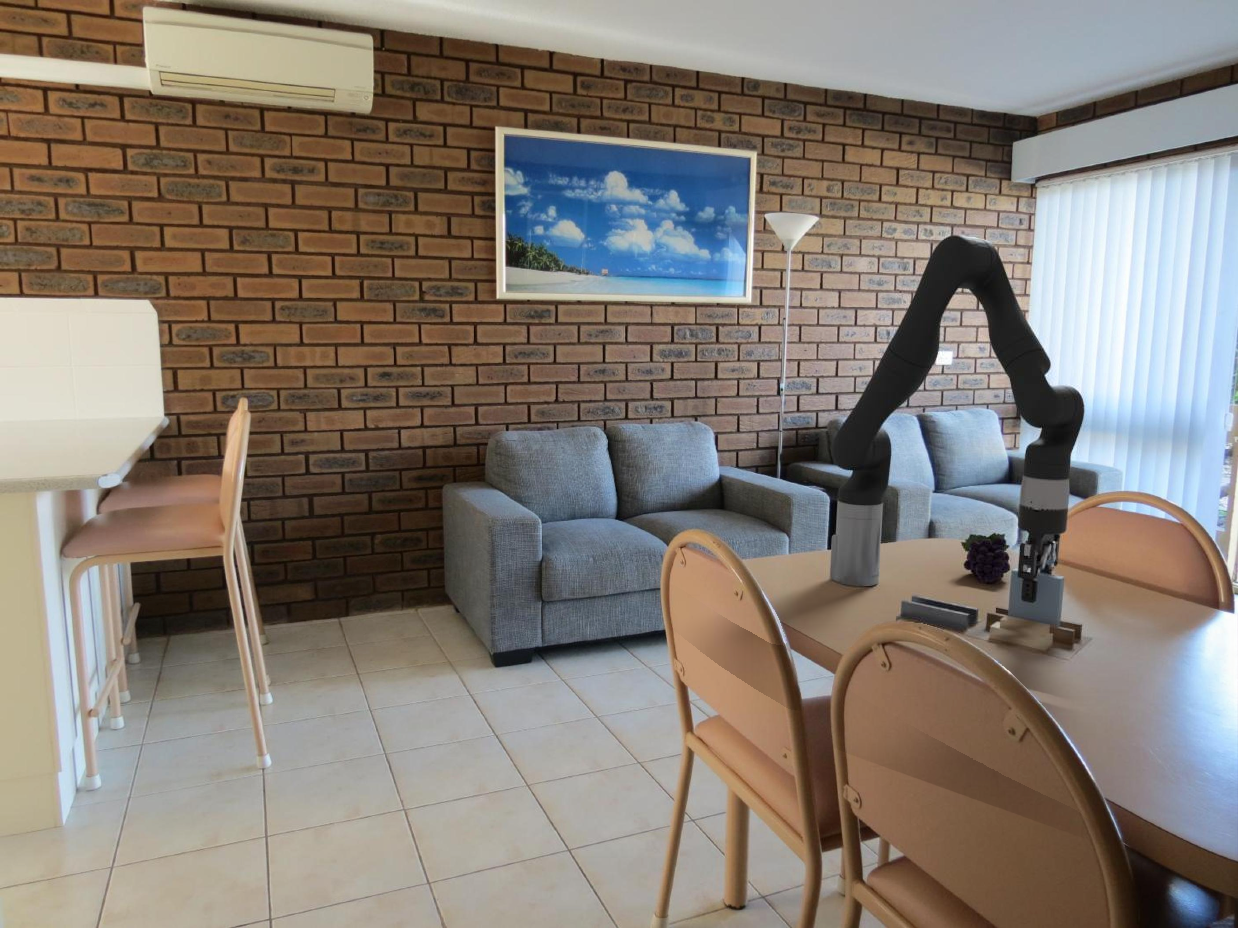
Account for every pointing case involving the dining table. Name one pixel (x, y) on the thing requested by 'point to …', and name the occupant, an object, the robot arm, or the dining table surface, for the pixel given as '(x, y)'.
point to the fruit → (987, 556)
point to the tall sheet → (1038, 599)
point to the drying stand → (939, 613)
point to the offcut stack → (1022, 632)
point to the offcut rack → (1064, 636)
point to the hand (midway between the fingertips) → (1035, 596)
